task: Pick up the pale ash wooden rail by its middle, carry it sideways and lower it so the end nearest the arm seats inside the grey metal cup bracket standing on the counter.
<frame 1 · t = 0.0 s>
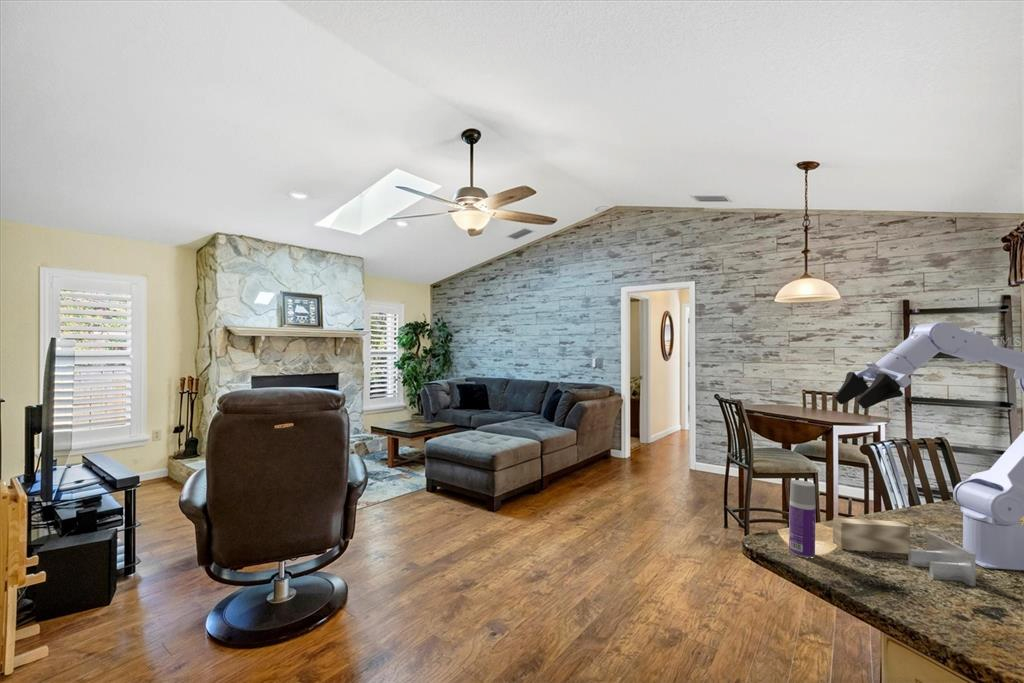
hand: (848, 402, 98), 32 cm above the countertop, tool tilted 50°, fingers open, 7 cm apart
rail: (870, 549, 100), on the countertop
container: (801, 554, 97), on the countertop
bracket: (935, 572, 90), on the countertop
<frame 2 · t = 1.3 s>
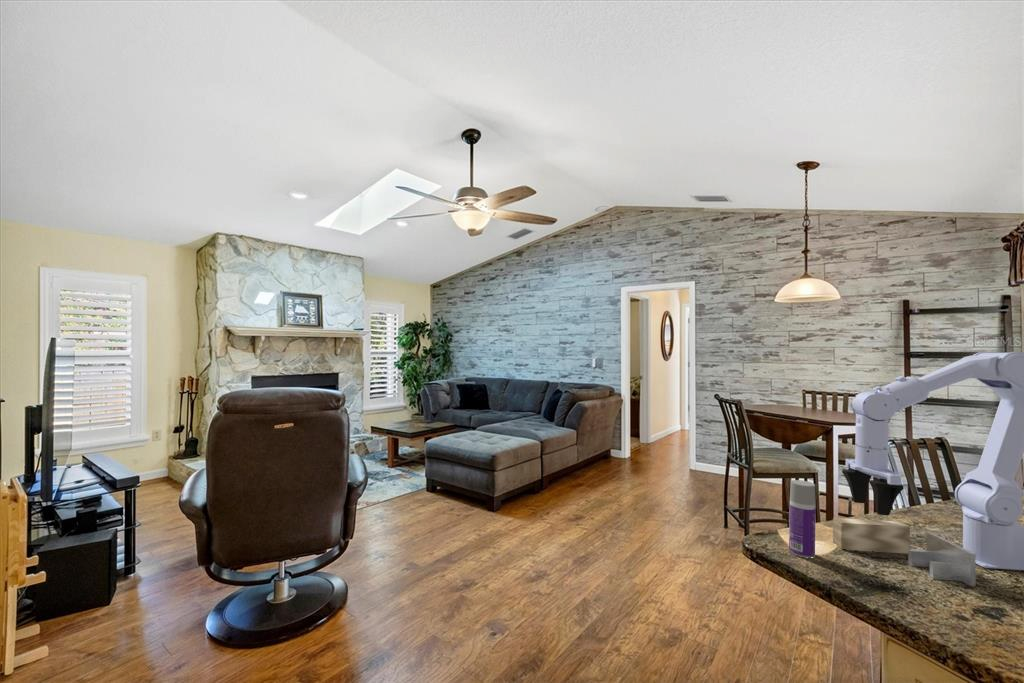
hand: (870, 508, 100), 9 cm above the countertop, tool pointing down, fingers open, 7 cm apart
nothing on the countertop moved.
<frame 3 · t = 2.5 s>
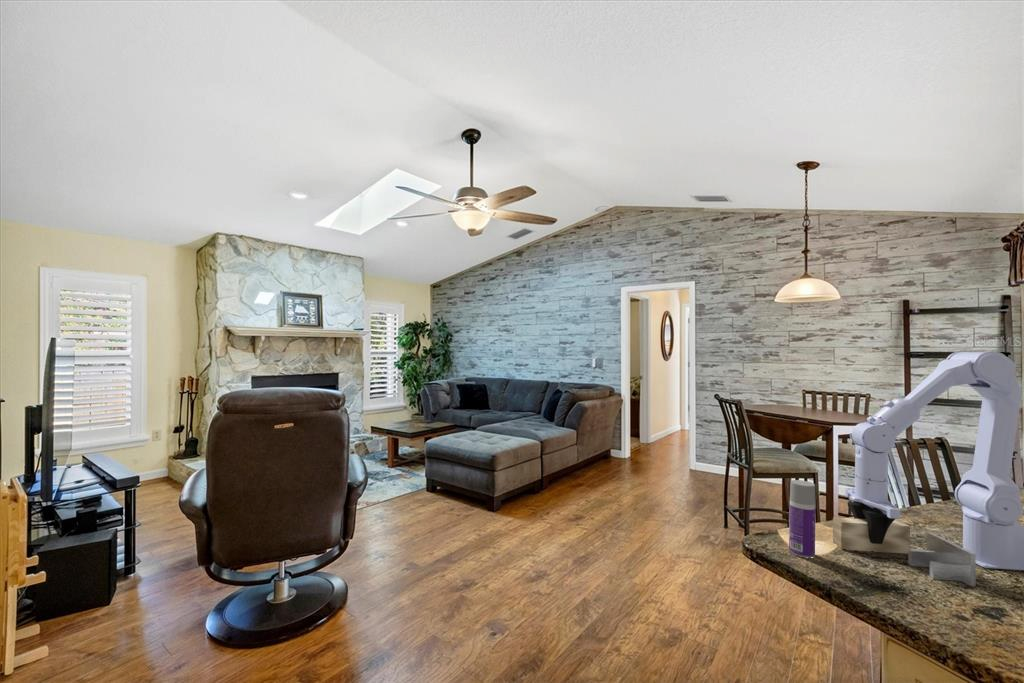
hand: (870, 539, 100), 2 cm above the countertop, tool pointing down, fingers closed on rail, 3 cm apart
rail: (870, 548, 100), on the countertop, touching gripper
everything else where it was.
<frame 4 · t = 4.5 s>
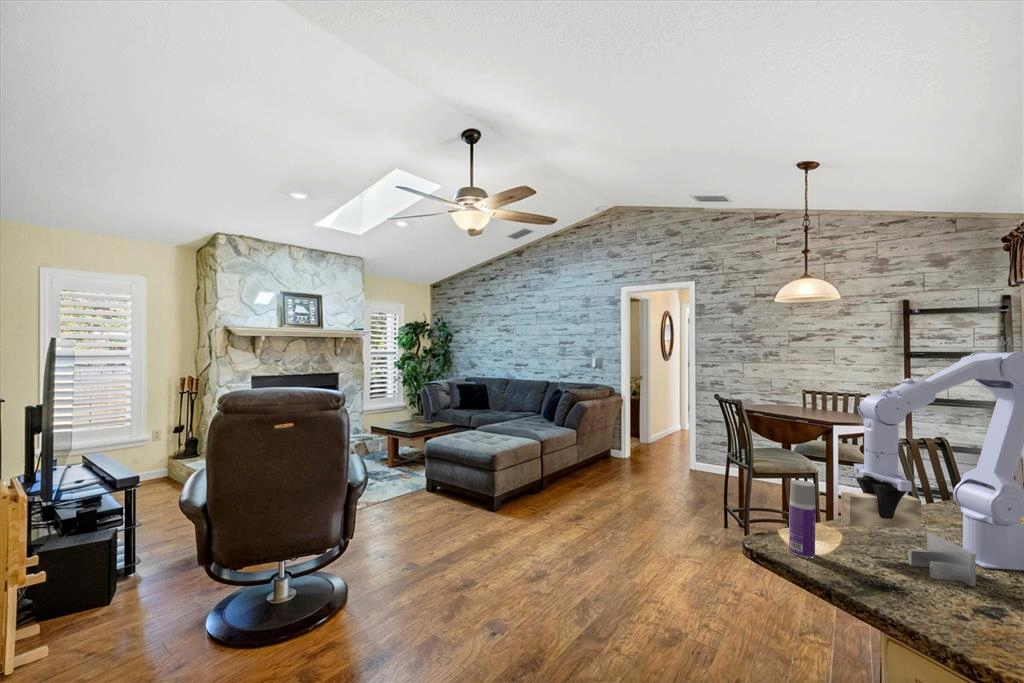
hand: (880, 515, 98), 8 cm above the countertop, tool pointing down, fingers closed on rail, 3 cm apart
rail: (880, 524, 98), point 6 cm above the countertop, touching gripper
everything else where it was.
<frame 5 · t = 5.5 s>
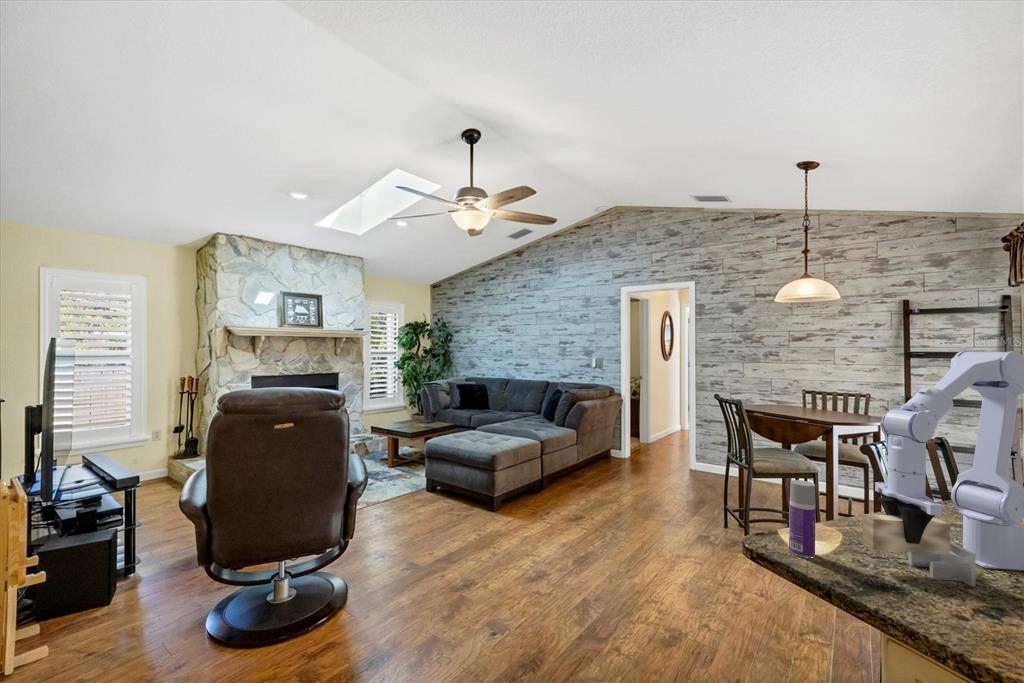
hand: (905, 539, 90), 6 cm above the countertop, tool pointing down, fingers closed on rail, 3 cm apart
rail: (905, 548, 90), point 4 cm above the countertop, touching gripper
everything else where it was.
when the fingers open (3 cm above the countertop, at t = 6.3 s): rail drops 2 cm, on the countertop.
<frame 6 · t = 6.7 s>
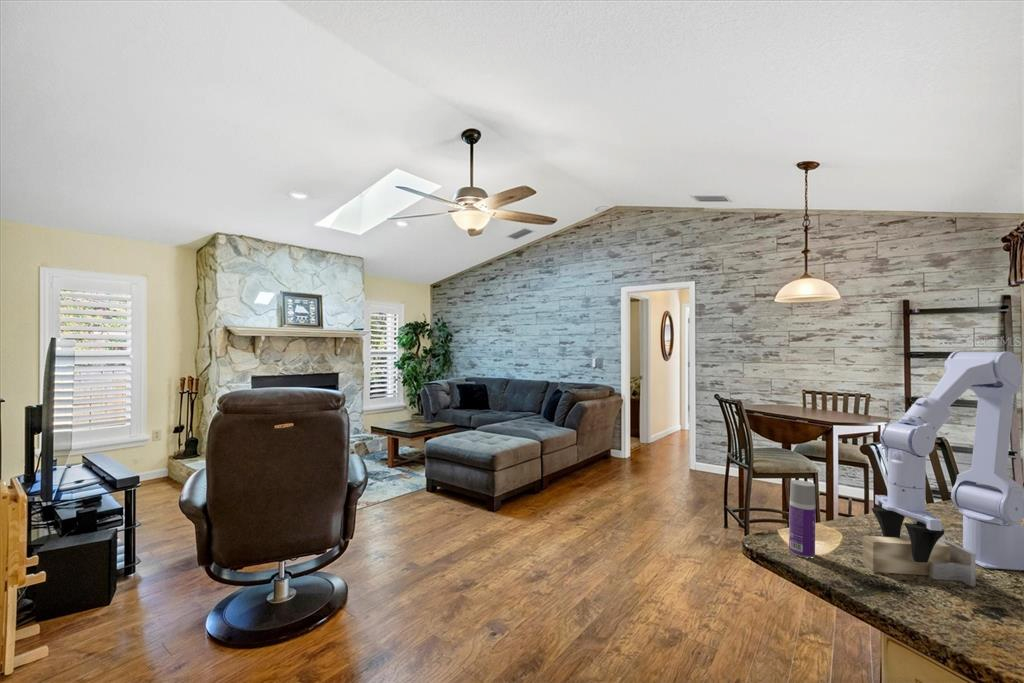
hand: (905, 553, 90), 3 cm above the countertop, tool pointing down, fingers open, 7 cm apart
rail: (905, 571, 90), on the countertop
everything else where it was.
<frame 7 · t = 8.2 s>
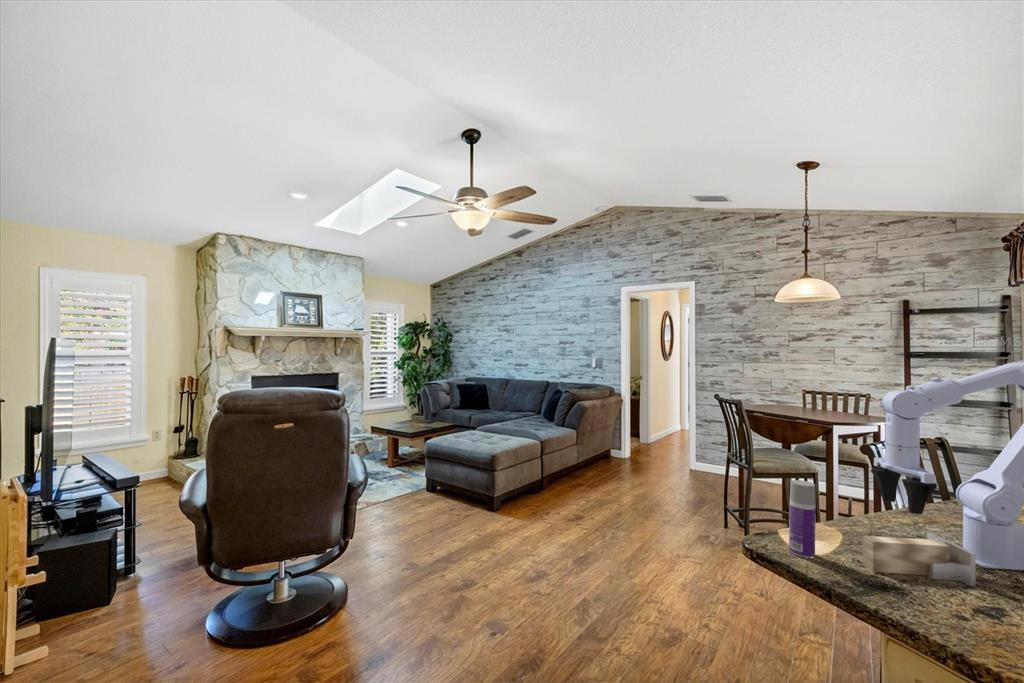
hand: (901, 507, 100), 9 cm above the countertop, tool pointing down, fingers open, 7 cm apart
nothing on the countertop moved.
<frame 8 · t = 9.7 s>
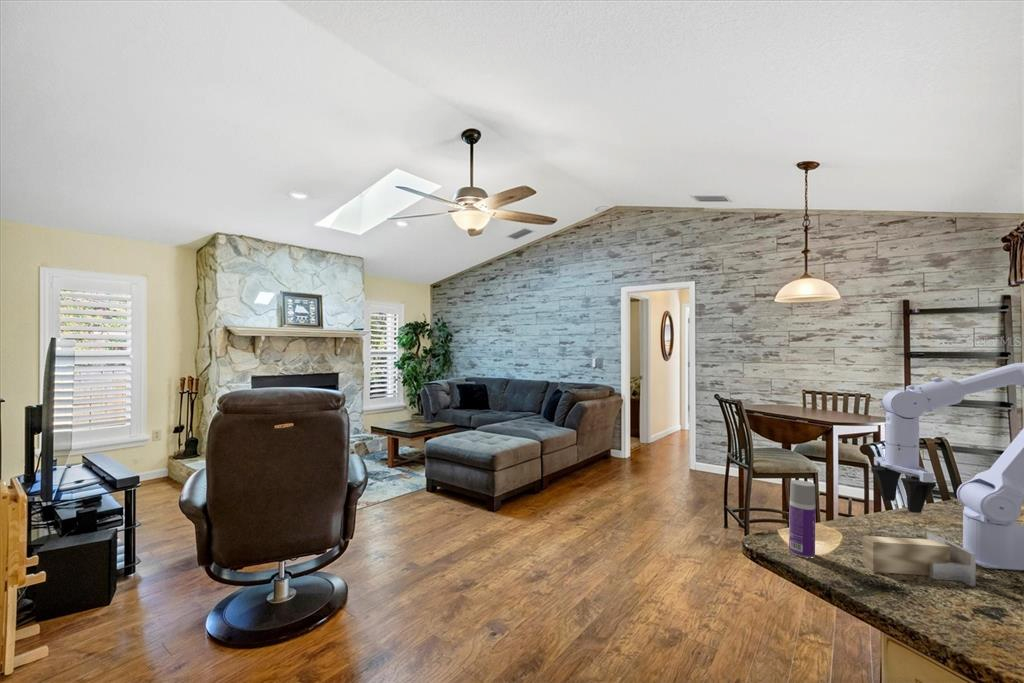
hand: (901, 505, 101), 9 cm above the countertop, tool pointing down, fingers open, 7 cm apart
nothing on the countertop moved.
at the end: rail 0.2 cm from the target spot on the countertop beside the bracket, on the countertop; rail tilted 0°; the gripper is holding nothing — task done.
